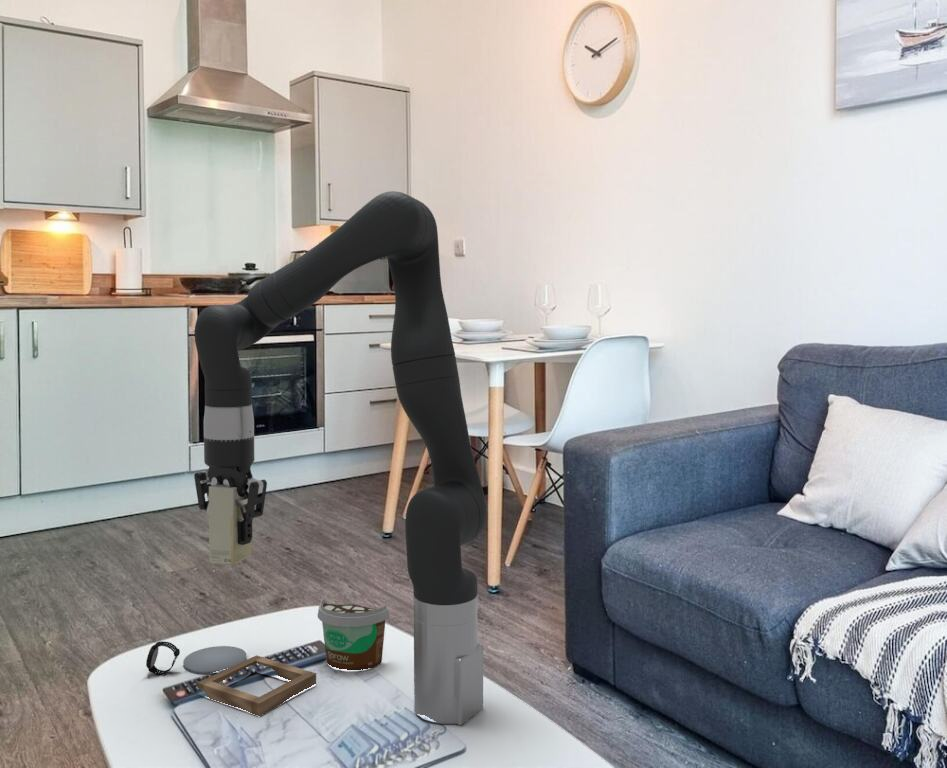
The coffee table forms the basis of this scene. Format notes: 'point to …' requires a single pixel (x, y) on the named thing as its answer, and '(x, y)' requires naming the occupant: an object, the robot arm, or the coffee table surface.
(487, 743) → the coffee table surface
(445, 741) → the coffee table surface
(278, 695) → the frame
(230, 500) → the skincare box
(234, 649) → the slate coaster
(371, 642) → the food container
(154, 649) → the smartwatch
